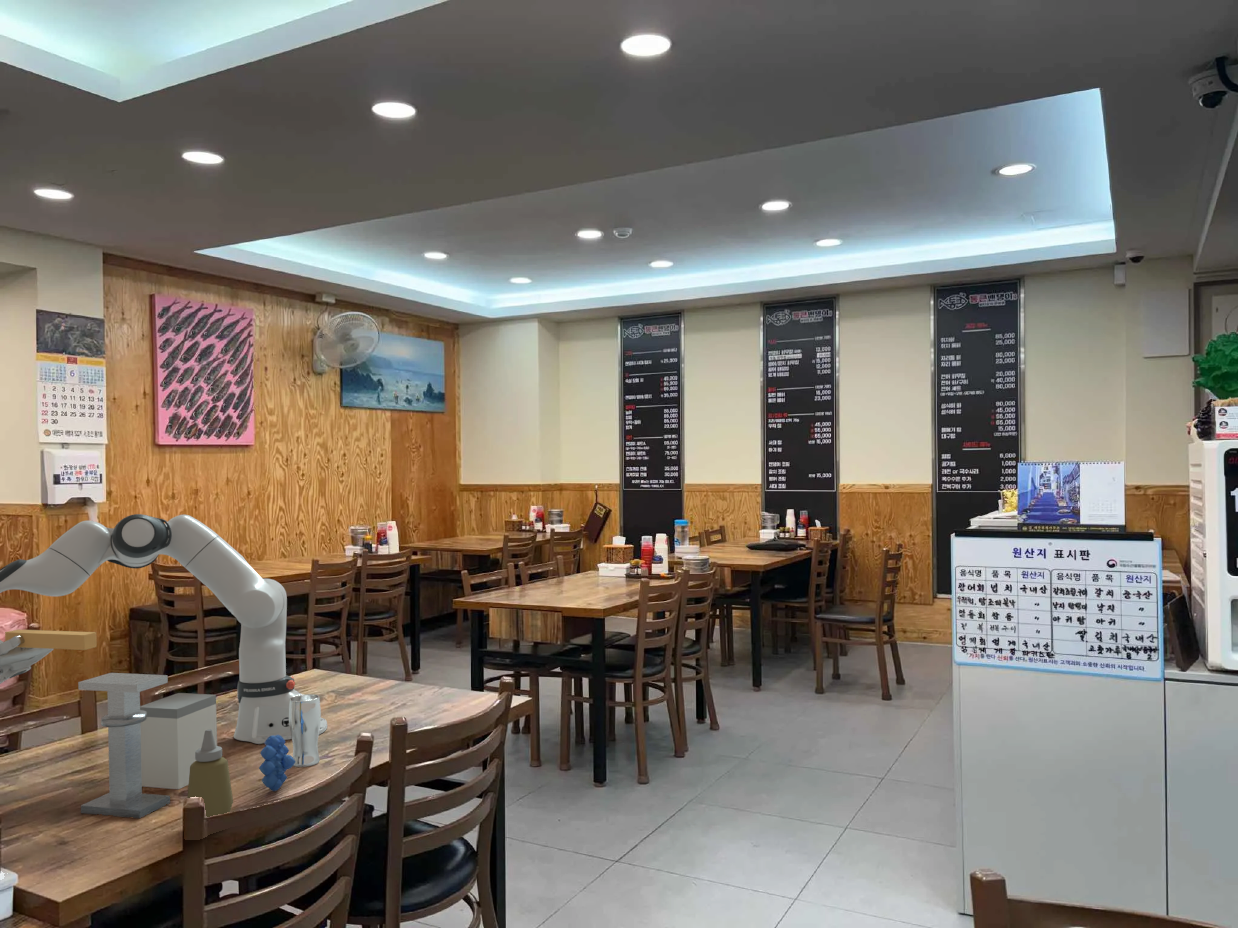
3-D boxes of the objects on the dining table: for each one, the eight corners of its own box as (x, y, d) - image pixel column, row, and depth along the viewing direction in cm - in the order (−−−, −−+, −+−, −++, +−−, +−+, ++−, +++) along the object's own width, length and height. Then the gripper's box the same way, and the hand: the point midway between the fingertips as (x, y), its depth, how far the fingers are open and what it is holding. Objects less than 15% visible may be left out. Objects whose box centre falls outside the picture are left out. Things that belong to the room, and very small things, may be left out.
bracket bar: (5, 646, 183) (5, 632, 183) (18, 643, 186) (18, 629, 186) (84, 649, 178) (84, 635, 178) (96, 646, 181) (96, 632, 181)
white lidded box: (139, 785, 190) (137, 706, 190) (180, 767, 202) (178, 692, 202) (178, 789, 188) (177, 709, 188) (217, 770, 199) (216, 694, 199)
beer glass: (311, 768, 199) (309, 701, 199) (283, 767, 200) (282, 700, 200) (327, 758, 206) (326, 694, 206) (300, 757, 207) (299, 693, 207)
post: (81, 812, 176) (78, 681, 176) (113, 797, 183) (110, 672, 183) (139, 818, 172) (137, 684, 172) (170, 802, 180) (167, 675, 180)
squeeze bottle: (196, 817, 172) (194, 725, 172) (239, 815, 173) (237, 723, 173) (179, 834, 164) (177, 737, 164) (224, 832, 164) (222, 735, 165)
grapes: (286, 800, 180) (285, 741, 180) (252, 801, 180) (251, 742, 180) (305, 780, 192) (303, 724, 192) (273, 781, 191) (272, 725, 191)
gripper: (-71, 665, 177) (-24, 632, 174) (21, 644, 197) (65, 615, 194) (-58, 693, 176) (-11, 660, 173) (33, 669, 196) (77, 640, 193)
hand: (30, 636), depth 184 cm, fingers closed on bracket bar, 3 cm apart
